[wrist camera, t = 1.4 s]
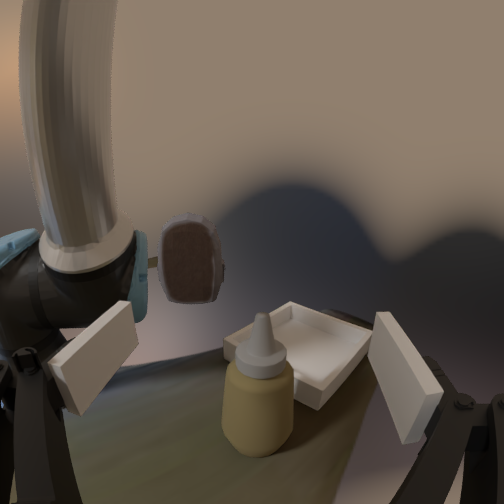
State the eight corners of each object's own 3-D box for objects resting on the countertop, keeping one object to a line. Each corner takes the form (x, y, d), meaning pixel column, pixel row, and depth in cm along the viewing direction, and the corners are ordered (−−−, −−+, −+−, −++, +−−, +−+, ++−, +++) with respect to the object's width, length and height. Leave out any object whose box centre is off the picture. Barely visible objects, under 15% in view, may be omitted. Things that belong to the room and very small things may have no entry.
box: (223, 358, 45) (223, 338, 44) (288, 318, 58) (290, 301, 57) (317, 410, 34) (322, 390, 33) (369, 350, 47) (374, 331, 46)
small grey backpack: (157, 306, 61) (149, 216, 55) (165, 290, 69) (159, 209, 63) (225, 307, 62) (224, 215, 56) (226, 291, 70) (225, 208, 64)
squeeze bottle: (235, 410, 34) (233, 289, 29) (295, 423, 32) (315, 301, 27) (212, 455, 27) (197, 330, 22) (281, 472, 25) (303, 350, 19)
